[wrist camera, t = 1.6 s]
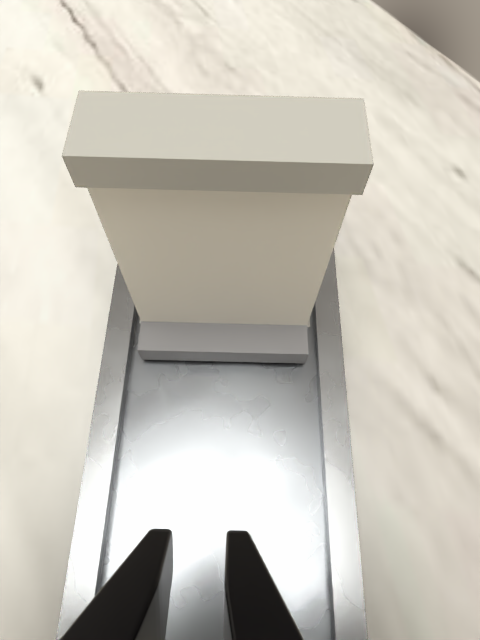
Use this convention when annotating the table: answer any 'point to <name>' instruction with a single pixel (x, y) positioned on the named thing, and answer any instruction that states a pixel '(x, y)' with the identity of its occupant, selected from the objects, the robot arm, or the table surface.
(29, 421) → the table surface
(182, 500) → the tray
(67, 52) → the table surface
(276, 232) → the fader paddle
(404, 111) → the table surface
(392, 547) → the table surface
